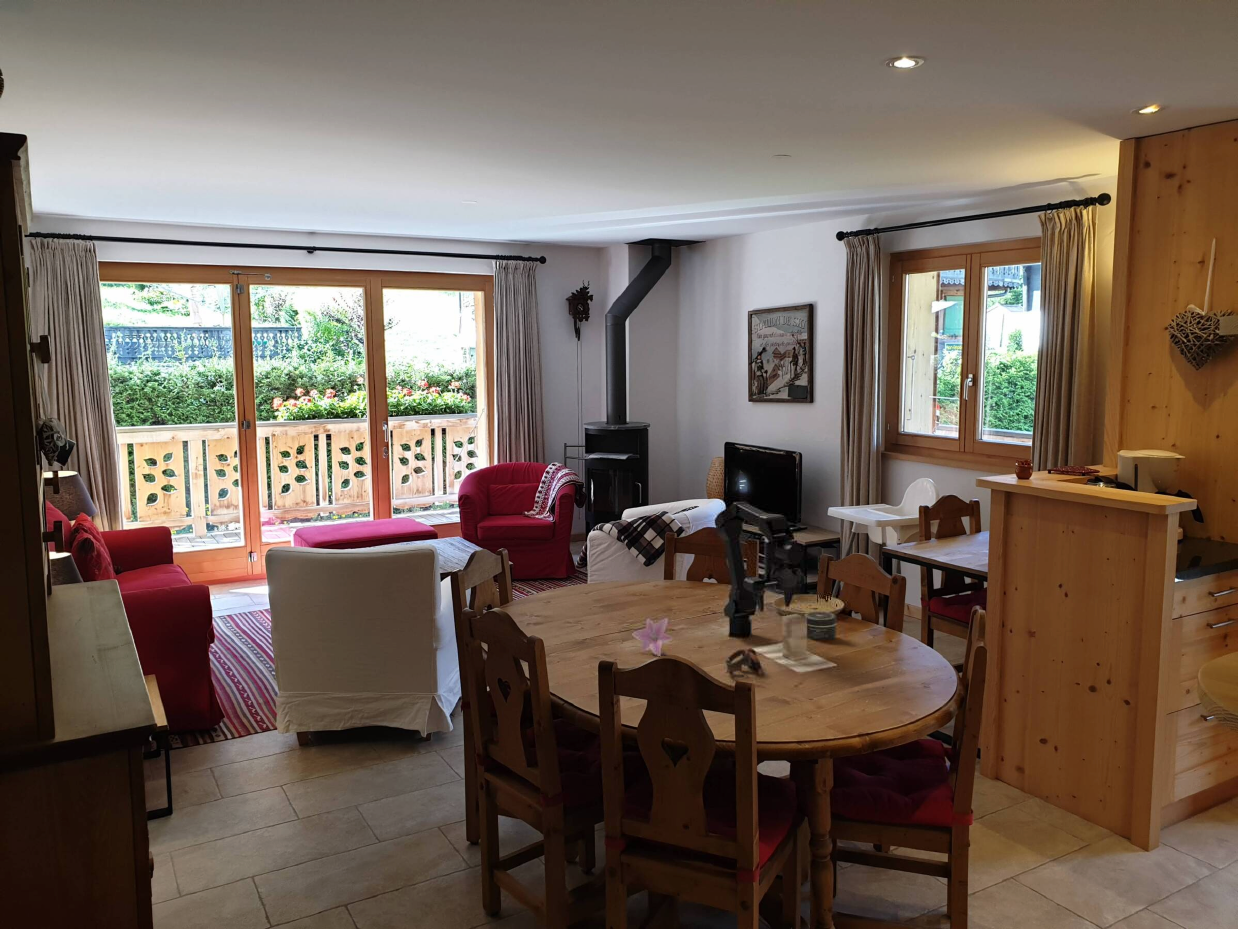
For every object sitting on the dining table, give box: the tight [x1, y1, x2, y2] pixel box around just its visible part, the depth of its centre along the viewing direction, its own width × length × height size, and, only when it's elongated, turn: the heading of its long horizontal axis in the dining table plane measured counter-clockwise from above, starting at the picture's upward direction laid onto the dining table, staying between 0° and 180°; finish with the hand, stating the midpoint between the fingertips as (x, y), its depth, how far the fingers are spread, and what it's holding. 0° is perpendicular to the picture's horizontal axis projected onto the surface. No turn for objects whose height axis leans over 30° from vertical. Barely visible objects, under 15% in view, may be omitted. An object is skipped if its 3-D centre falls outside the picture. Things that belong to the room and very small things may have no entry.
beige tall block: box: [781, 614, 808, 661], centre depth 262 cm, size 5×5×12 cm
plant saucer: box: [772, 594, 845, 617], centre depth 312 cm, size 24×24×3 cm
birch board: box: [751, 642, 837, 674], centre depth 264 cm, size 24×13×1 cm, turn 26°
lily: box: [631, 617, 674, 657], centre depth 274 cm, size 12×12×10 cm
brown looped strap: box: [725, 648, 764, 676], centre depth 253 cm, size 12×10×8 cm
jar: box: [804, 611, 837, 641], centre depth 282 cm, size 10×10×8 cm
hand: (774, 609), depth 270 cm, fingers open, 9 cm apart
